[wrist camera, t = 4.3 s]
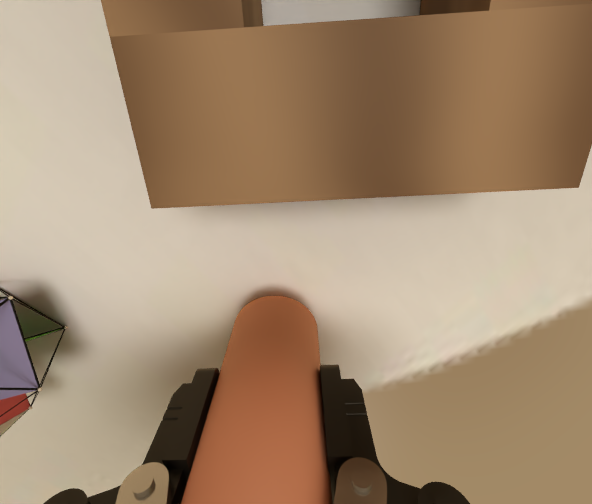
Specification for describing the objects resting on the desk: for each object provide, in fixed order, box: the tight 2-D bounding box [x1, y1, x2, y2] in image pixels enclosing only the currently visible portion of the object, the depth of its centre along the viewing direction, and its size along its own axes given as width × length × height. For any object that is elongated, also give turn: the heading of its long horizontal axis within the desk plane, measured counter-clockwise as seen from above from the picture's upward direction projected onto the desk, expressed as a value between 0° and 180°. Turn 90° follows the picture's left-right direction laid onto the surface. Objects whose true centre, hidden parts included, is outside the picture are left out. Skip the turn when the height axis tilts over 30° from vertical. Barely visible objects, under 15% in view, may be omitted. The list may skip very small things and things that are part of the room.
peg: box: [181, 296, 333, 504], centre depth 11 cm, size 4×4×10 cm
